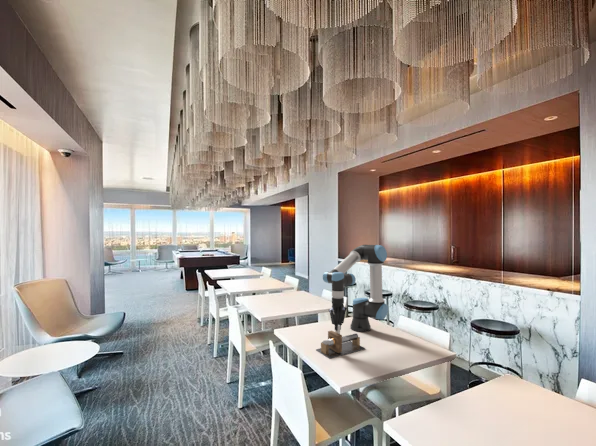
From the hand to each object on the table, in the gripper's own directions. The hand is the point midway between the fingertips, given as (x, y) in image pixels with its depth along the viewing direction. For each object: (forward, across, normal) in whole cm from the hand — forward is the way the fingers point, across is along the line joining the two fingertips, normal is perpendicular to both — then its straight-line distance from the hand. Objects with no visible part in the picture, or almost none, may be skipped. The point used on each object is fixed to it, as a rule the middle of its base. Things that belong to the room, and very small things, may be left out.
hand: (337, 335), depth 182 cm
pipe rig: (+9, -3, 0) cm, 10 cm away
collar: (+8, +2, 0) cm, 9 cm away
